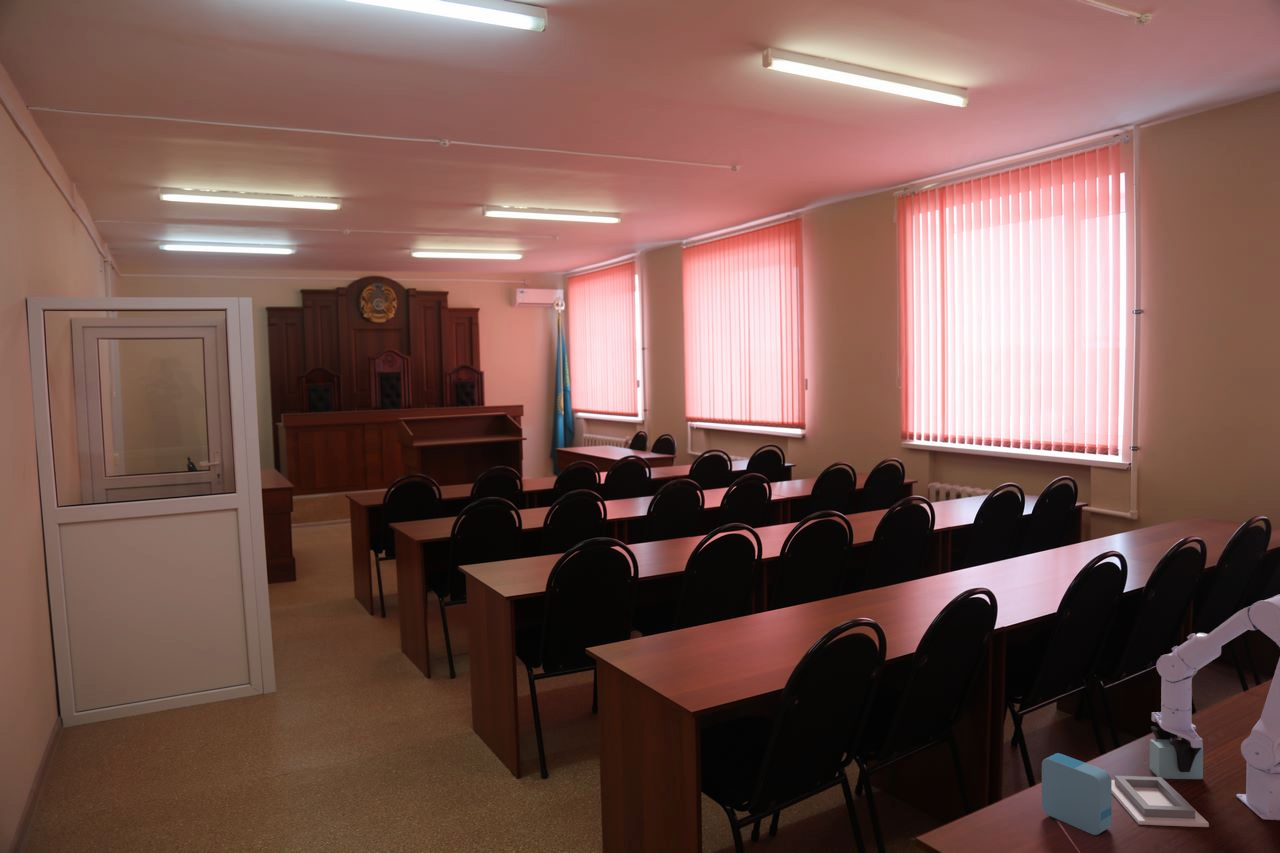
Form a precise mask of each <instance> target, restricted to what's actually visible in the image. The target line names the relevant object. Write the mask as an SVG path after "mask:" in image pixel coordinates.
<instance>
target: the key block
mask: <svg viewBox="0 0 1280 853" xmlns="http://www.w3.org/2000/svg"><path fill="white" fill-rule="evenodd" d="M1172 740H1181V737H1179V736H1177V737H1170V740H1163V739H1156V738H1155V739H1154V738H1151V739H1149V770H1150V771H1151V772H1152V773H1153V774H1154V775H1155V777H1162V778H1163V779H1168V780H1169V779H1170V780H1171V779H1173V780H1203V779H1204V748H1202V749H1201V750H1200V751H1199V752H1198V753H1197V755H1196V757H1195V759H1194V761H1193V764H1192V767H1191V770H1190V772H1180V771H1179V769H1178V763H1177V754H1176V750H1175V748H1174V745H1173V743H1172Z"/></svg>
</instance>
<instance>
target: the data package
mask: <svg viewBox="0 0 1280 853" xmlns="http://www.w3.org/2000/svg"><path fill="white" fill-rule="evenodd" d="M1112 780H1113V779H1112V776H1111V775H1110V773H1109V772H1108V771H1107V770H1105V769H1104V768H1100V767H1098V766H1095V765H1093V764H1089V763H1087V762H1085V761H1082V760H1078V759H1076V758H1074V757H1071V756H1068V755H1065V754H1062V753H1061V752H1060V753H1059V752H1057V753H1054V754H1052V755H1050V756H1048V757H1046V758H1044V759H1043V760H1042V762H1041V808H1042V810H1043V811H1044V813H1045V814H1046V815H1047V816H1048V817H1051V818H1054V819H1056V820H1059V821H1060V822H1062V823H1066V824H1067V825H1070V826H1072V827H1074V828H1077V829H1078V830H1081V831H1083V832H1085V833H1088V834H1090V835H1092V836H1098V835H1100V834H1101V833H1103V832H1104V831H1106V830H1108V829H1109V828H1111V826H1112V793H1111V788H1112Z"/></svg>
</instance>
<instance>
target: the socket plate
mask: <svg viewBox="0 0 1280 853" xmlns="http://www.w3.org/2000/svg"><path fill="white" fill-rule="evenodd" d="M1111 780H1112V788H1111V795H1113V796H1114V797H1115V799H1116V800H1117V801H1118V803H1120V804H1121V805H1122V807H1123V808H1124V809H1125V810H1126V811H1127V813H1128V814H1129V815H1130V816H1131V818H1132V819H1134V821H1135V822H1136V823H1137V825H1141V826H1142V825H1144V826H1145V825H1146V826H1148V825H1149V826H1150V825H1151V826H1169V827H1170V826H1171V827H1172V826H1173V827H1191V828H1192V827H1194V828H1195V827H1197V828H1198V827H1199V828H1209V827H1210V824H1209V822H1208V821H1207V820H1206V819H1205V818H1204V817H1203V816H1202V815H1201V814H1200V813H1199V812H1198V811H1197V810H1196V809H1195V808H1194V807H1193V806H1192V805H1191V804H1189V802H1188V801H1187V800H1186V799H1185V798H1183V796H1182V795H1181V794H1180V793H1179V792H1178V791H1177V790H1176V789H1175V788H1173V786H1172V785H1170V784H1169V783H1168V782H1167V781H1166V780H1165V778H1162V777H1157V776H1138V775H1114V779H1111Z"/></svg>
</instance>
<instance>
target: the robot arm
mask: <svg viewBox="0 0 1280 853" xmlns="http://www.w3.org/2000/svg"><path fill="white" fill-rule="evenodd" d="M1248 630H1249V631H1256V630H1259V631H1261V632H1262V633H1263V634H1264V635H1266V636H1267V637H1268V638H1270V639H1271V640H1272V641H1273V642H1275V644H1276V645H1277V646H1278V647H1279V648H1280V594H1277V595H1274V596H1272V597H1270V598H1267V599H1264V600H1258V601H1256V602H1254V603H1252V604H1251V605H1250V606H1247V607H1244V608H1243V609H1240V610H1238V611H1237V612H1236V613H1234V614H1233V615H1232V616H1230V617H1229V618H1227V619H1226V620H1225V621H1224V622H1222V623H1221V624H1219V626H1218V627H1216V628H1214V629H1213V630H1212V631H1210V632H1209V633H1205V632H1197V633H1195V632H1194V633H1190V634H1189V635H1188V636H1186V638H1187V640H1186V641H1184V642H1183V643H1182V644H1180V645H1179V646H1178V645H1176V646H1175V645H1174V646H1173V647H1172V648H1171V651H1172V652H1170V653H1167V654H1163V655H1160V657H1159V658H1158V659H1157V661H1156V663H1155V664H1156V665H1155V666H1156V667H1155V668H1156V671H1157V672H1158V674H1159V676H1160V677H1161V682H1160V683H1161V687H1160V689H1161V691H1160V692H1161V694H1160V695H1161V696H1160V698H1161V702H1160V703H1161V704H1160V706H1161V708H1160V710H1161V711H1160V712H1159V711H1157V712H1155V711H1154V712H1151V721H1152V722H1154V723H1157V724H1156V725H1151V726H1150V730H1151V731H1152V733H1153V735H1154V737H1155V739H1163V740H1170V737H1179V738H1181V740H1172V743H1173V745H1174V748H1175V750H1176V754H1177V763H1178V769H1179V771H1180V772H1190V770H1191V767H1192V764H1193V761H1194V759H1195V757H1196V755H1197V753H1198V752H1199V751H1200V750H1201V749H1204V748H1203V746H1204V745H1203V743H1204V742H1203V740H1204V739H1203V738H1202V737H1200V736H1199V735H1198V733H1197V731H1196V730H1197V726H1196V725H1195V724H1193V723H1192V711H1193V710H1192V708H1193V707H1192V704H1193V703H1192V702H1193V701H1192V696H1193V687H1192V684H1193V682H1192V681H1193V680H1192V679H1193V677H1194V676H1195V675H1196V674H1197V673H1198V671H1199V670H1200V669H1202V668H1203V667H1205V666H1207V665H1208V664H1209V663H1211V662H1212V661H1213V660H1214V661H1215V659H1217V658H1218V657H1220V656H1221V654H1222V646H1224V645H1226V644H1227V643H1229V642H1230V641H1233V639H1235V638H1238V637H1239V636H1240V635H1242V634H1243V633H1245V632H1246V631H1248ZM1240 752H1241V756H1242V757H1243V758H1244V760H1245V761H1246V781H1245V782H1246V784H1245V785H1246V787H1245V793H1237V794H1235V795H1236V798H1238V799H1239V800H1240V802H1242V803H1243V804H1245V805H1246V806H1247V807H1248V808H1249V809H1250V810H1252V812H1254V813H1255V814H1256V815H1257V816H1259V817H1260V818H1261V819H1262V820H1269V821H1274V820H1275V821H1280V657H1279V658H1278V662H1277V664H1276V668H1275V671H1274V675H1273V677H1272V681H1271V683H1270V686H1269V690H1268V694H1267V697H1266V700H1265V703H1264V705H1263V708H1262V712H1261V715H1260V718H1259V719H1258V721H1257V722H1256V724H1255V725H1254V726H1253V728H1252V729H1251V732H1250V735H1249V736H1248V737H1246V738H1245V739H1244V740H1243V741H1242V742H1241V744H1240Z"/></svg>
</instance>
